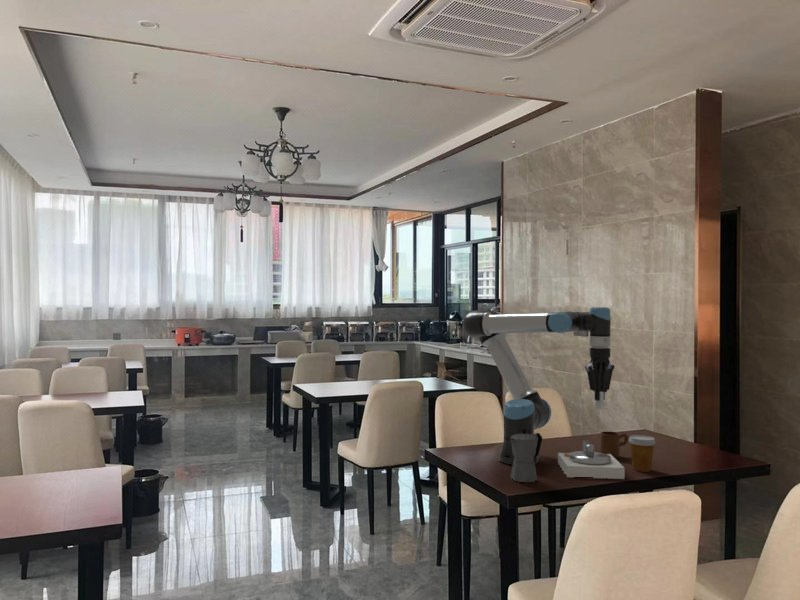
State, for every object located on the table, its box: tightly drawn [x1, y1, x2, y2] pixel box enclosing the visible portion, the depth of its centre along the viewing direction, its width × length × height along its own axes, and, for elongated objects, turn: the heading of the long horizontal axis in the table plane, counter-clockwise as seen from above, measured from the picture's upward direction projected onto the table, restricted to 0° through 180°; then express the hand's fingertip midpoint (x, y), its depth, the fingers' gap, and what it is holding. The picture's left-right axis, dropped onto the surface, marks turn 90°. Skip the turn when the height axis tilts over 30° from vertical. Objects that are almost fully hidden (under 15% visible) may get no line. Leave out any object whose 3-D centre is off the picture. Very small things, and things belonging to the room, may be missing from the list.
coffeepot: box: [509, 428, 543, 483], centre depth 226 cm, size 15×9×18 cm, turn 125°
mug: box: [599, 431, 629, 459], centre depth 261 cm, size 12×8×9 cm, turn 103°
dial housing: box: [557, 452, 626, 480], centre depth 238 cm, size 20×20×5 cm
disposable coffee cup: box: [628, 434, 657, 473], centre depth 241 cm, size 10×10×12 cm
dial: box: [568, 439, 611, 465], centre depth 239 cm, size 16×15×5 cm
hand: (599, 408), depth 246 cm, fingers closed
